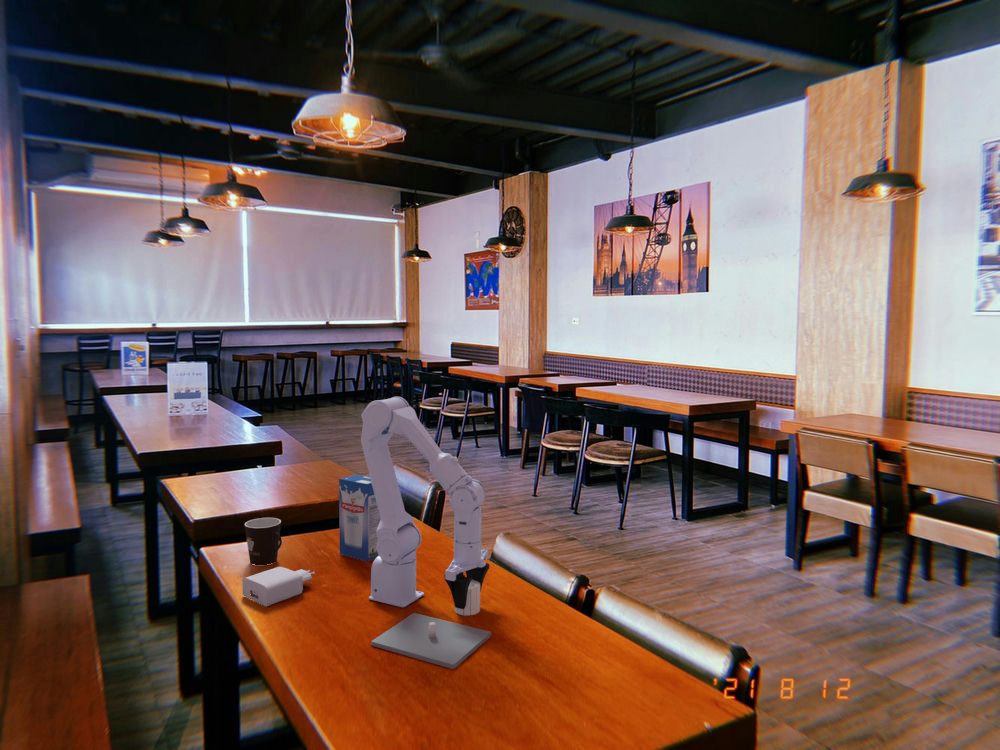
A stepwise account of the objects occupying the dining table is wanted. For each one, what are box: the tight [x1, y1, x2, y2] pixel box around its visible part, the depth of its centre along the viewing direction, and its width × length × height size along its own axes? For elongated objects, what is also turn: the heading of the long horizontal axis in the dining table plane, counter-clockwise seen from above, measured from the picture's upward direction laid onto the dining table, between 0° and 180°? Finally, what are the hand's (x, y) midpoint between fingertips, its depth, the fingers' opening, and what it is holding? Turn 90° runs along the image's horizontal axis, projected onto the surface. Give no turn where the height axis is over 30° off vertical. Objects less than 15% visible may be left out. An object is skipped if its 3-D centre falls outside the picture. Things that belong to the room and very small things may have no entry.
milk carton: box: [338, 474, 381, 562], centre depth 171 cm, size 10×6×20 cm, turn 58°
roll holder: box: [370, 612, 492, 670], centre depth 125 cm, size 18×14×3 cm
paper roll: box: [453, 580, 481, 616], centre depth 139 cm, size 5×5×6 cm
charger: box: [241, 566, 316, 608], centre depth 148 cm, size 5×9×15 cm
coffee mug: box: [244, 517, 283, 566], centre depth 164 cm, size 12×9×10 cm
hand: (467, 602), depth 139 cm, fingers closed on paper roll, 5 cm apart
